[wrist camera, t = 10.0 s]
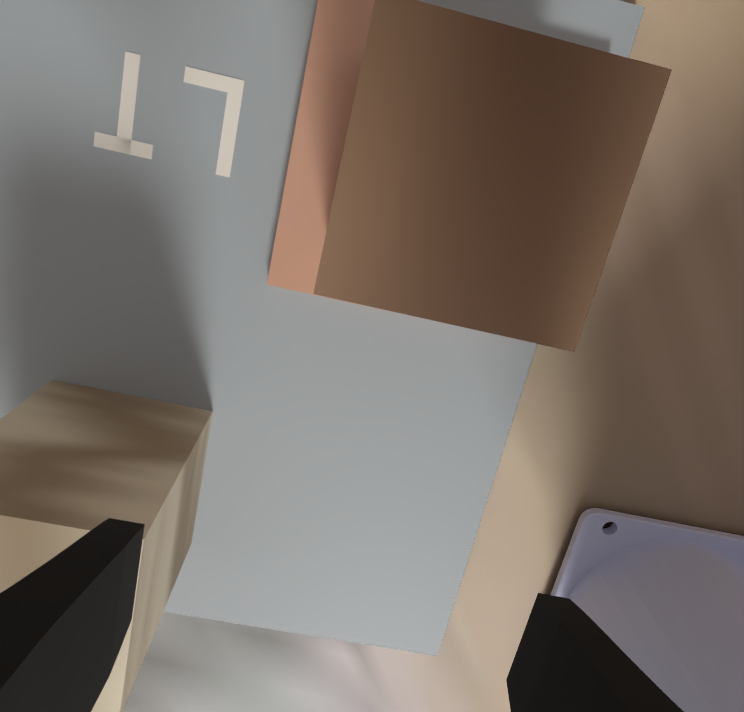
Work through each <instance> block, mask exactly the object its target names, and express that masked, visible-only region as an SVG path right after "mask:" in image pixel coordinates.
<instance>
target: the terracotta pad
mask: <svg viewBox="0 0 744 712" xmlns="http://www.w3.org/2000/svg"><path fill="white" fill-rule="evenodd" d="M374 2H375V0H318V3H317V8H316V14H315V19H314V25H313V31H312V36H311V42H310V47H309V53H308V58H307V64H306V69H305V75H304V81H303V86H302V92H301V97H300V103H299V108H298V114H297V119H296V125H295V131H294V136H293V142H292V147H291V153H290V158H289V164H288V169H287V175H286V181H285V186H284V192H283V197H282V203H281V208H280V214H279V219H278V225H277V231H276V236H275V242H274V247H273V253H272V258H271V264H270V269H269V275H268V281H267V285H271V286H275V287H280V288H285V289H289V290H294V291H298V292H303V293H308V294H312V295H315V294H313V293H314V288H315V283H316V279H317V274H318V269H319V264H320V259H321V255H322V250H323V245H324V240H325V236H326V231H327V226H328V221H329V217H330V212H331V207H332V202H333V197H334V193H335V188H336V183H337V178H338V174H339V169H340V164H341V159H342V154H343V150H344V145H345V140H346V135H347V131H348V126H349V121H350V116H351V112H352V107H353V102H354V97H355V92H356V88H357V83H358V78H359V73H360V69H361V64H362V59H363V54H364V50H365V45H366V40H367V35H368V30H369V26H370V21H371V16H372V11H373V7H374ZM317 296H320V295H317ZM322 297H324V296H322ZM326 298H329V297H326ZM331 299H333V298H331ZM336 300H338V299H336ZM340 301H342V300H340ZM345 302H347V301H345ZM350 303H351V302H350ZM354 304H356V303H354ZM359 305H360V304H359ZM363 306H365V305H363ZM368 307H370V306H368ZM373 308H374V307H373ZM377 309H379V308H377ZM382 310H383V309H382ZM387 311H388V310H387ZM391 312H392V311H391ZM396 313H397V312H396ZM405 315H406V314H405ZM414 317H415V316H414Z"/></svg>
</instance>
